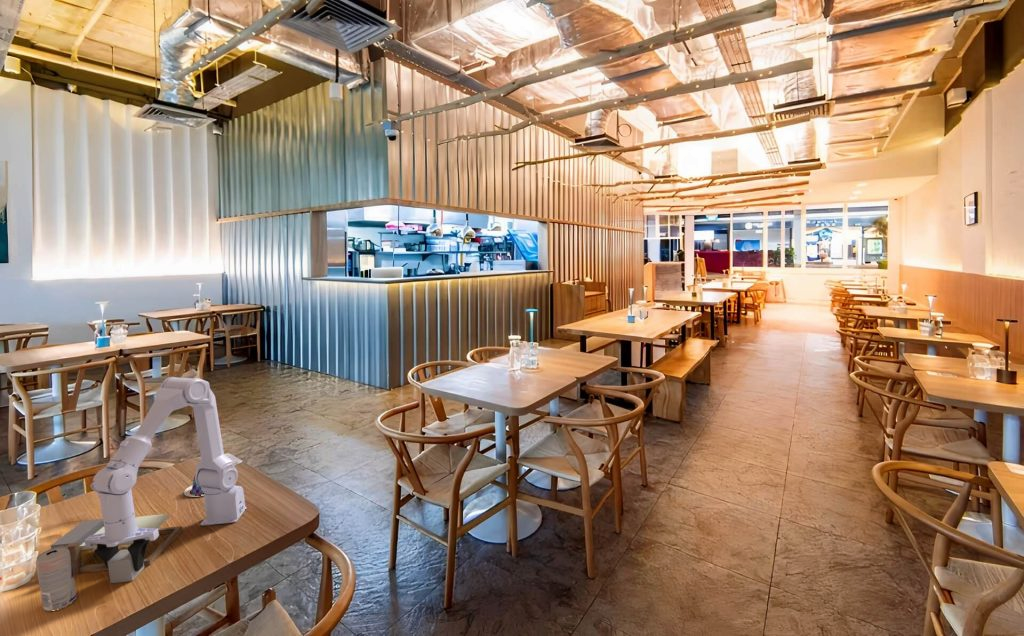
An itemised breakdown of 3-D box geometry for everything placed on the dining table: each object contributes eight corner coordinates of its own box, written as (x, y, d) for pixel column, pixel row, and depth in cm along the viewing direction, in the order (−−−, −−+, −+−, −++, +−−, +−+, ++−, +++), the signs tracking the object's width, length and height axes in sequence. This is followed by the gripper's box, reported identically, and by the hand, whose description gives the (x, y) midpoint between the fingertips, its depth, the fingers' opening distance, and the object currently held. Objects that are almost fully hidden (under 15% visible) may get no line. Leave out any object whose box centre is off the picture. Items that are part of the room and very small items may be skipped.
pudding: (179, 491, 155) (177, 475, 154) (219, 477, 164) (218, 463, 163) (190, 503, 147) (188, 487, 146) (232, 488, 156) (231, 472, 155)
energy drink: (74, 591, 108) (66, 542, 106) (79, 601, 105) (71, 551, 103) (42, 605, 104) (33, 554, 102) (45, 616, 101) (36, 564, 99)
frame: (183, 529, 132) (179, 505, 131) (149, 565, 117) (145, 538, 116) (88, 539, 128) (84, 514, 127) (40, 577, 113) (36, 550, 112)
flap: (169, 519, 129) (168, 511, 129) (142, 546, 117) (141, 537, 117) (86, 527, 126) (85, 519, 126) (50, 555, 114) (48, 546, 114)
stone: (144, 568, 116) (141, 547, 115) (132, 580, 111) (129, 559, 110) (123, 570, 115) (120, 549, 114) (110, 583, 110) (107, 561, 110)
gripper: (71, 529, 106) (80, 585, 108) (143, 522, 108) (150, 577, 110) (93, 513, 113) (101, 565, 115) (160, 506, 115) (167, 558, 117)
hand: (127, 570), depth 113 cm, fingers closed on stone, 5 cm apart
